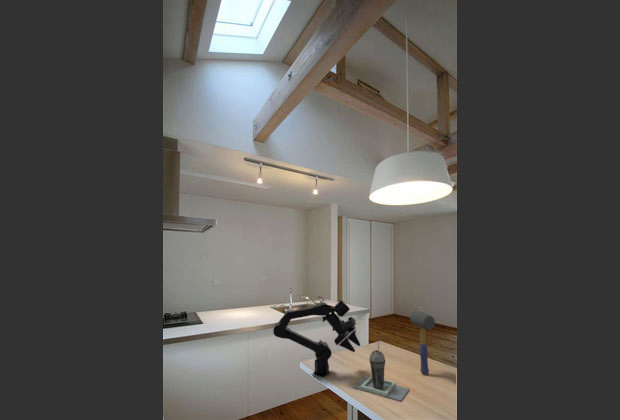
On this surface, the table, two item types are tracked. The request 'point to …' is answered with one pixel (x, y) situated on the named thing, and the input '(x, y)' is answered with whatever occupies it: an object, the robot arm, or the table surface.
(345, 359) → the table surface
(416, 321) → the rubber mallet
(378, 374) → the beverage cup
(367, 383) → the socket board
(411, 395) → the table surface
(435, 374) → the table surface
